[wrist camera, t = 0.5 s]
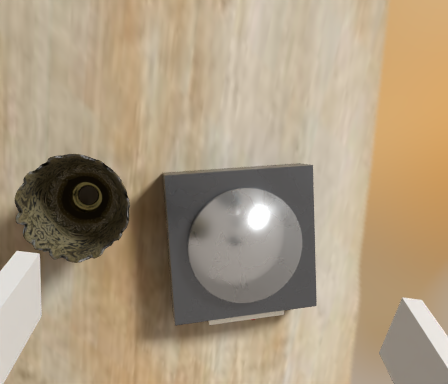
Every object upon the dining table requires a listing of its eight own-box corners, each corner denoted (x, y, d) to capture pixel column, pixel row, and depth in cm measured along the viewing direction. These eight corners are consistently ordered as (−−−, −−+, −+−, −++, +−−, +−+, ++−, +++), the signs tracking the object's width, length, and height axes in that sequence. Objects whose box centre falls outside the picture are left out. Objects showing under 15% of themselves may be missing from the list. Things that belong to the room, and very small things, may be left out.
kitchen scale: (162, 172, 36) (164, 176, 33) (299, 163, 39) (316, 165, 35) (173, 319, 38) (176, 338, 34) (304, 301, 41) (320, 317, 37)
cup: (79, 253, 36) (61, 283, 28) (23, 185, 34) (-11, 198, 26) (149, 204, 36) (150, 220, 29) (98, 135, 35) (85, 133, 27)
